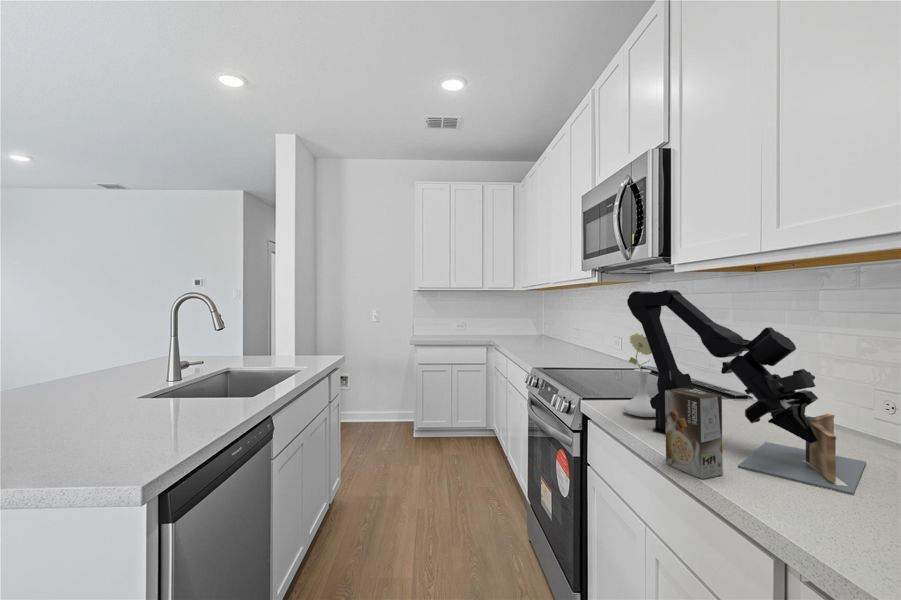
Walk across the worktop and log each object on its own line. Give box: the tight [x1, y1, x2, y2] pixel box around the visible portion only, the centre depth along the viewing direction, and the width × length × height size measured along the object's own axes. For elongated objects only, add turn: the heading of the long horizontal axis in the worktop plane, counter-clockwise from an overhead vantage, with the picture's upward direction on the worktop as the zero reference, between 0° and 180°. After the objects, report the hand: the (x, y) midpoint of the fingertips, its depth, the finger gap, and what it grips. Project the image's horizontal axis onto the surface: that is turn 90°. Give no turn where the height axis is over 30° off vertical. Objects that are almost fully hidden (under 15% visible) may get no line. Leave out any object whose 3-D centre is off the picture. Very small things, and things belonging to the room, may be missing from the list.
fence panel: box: [809, 422, 837, 482], centre depth 89 cm, size 11×1×9 cm, turn 156°
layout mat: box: [737, 441, 867, 496], centre depth 94 cm, size 18×23×1 cm
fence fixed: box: [805, 413, 835, 463], centre depth 97 cm, size 2×10×10 cm, turn 118°
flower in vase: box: [622, 332, 655, 418], centre depth 136 cm, size 13×11×25 cm
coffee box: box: [665, 388, 724, 480], centre depth 92 cm, size 9×6×16 cm
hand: (814, 442), depth 90 cm, fingers closed
